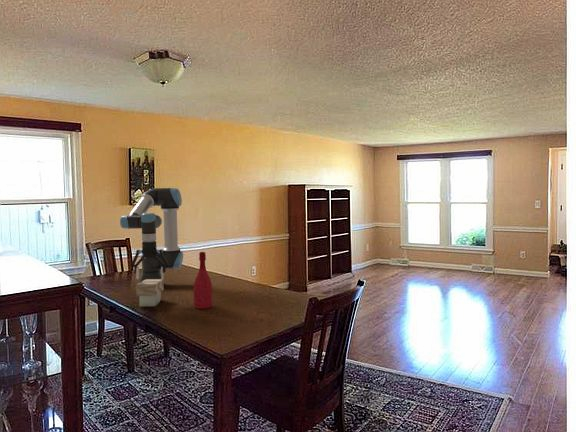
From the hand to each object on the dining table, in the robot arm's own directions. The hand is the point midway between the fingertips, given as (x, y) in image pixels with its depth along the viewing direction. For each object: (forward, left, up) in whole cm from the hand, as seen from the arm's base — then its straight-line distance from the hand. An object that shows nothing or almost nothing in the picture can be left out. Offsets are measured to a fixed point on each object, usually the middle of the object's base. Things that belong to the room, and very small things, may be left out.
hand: (150, 278), depth 238 cm
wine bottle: (+11, +30, -14) cm, 35 cm away
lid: (0, 0, -8) cm, 8 cm away
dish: (0, 0, -14) cm, 14 cm away
